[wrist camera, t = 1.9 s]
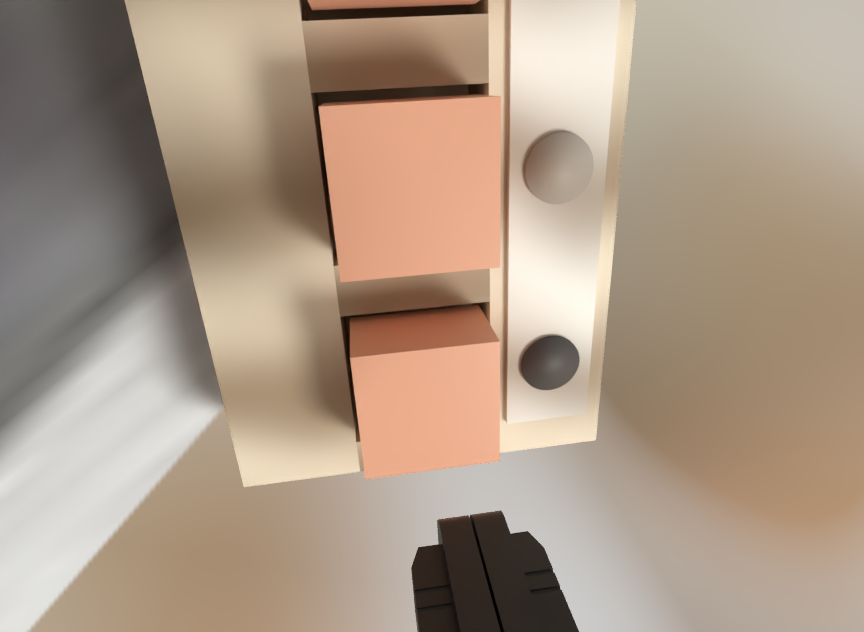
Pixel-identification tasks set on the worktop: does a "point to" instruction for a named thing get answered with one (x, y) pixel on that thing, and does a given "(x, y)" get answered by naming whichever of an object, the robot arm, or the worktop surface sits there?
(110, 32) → the worktop surface
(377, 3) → the button inner
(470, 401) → the button outer
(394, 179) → the button middle
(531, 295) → the button board
